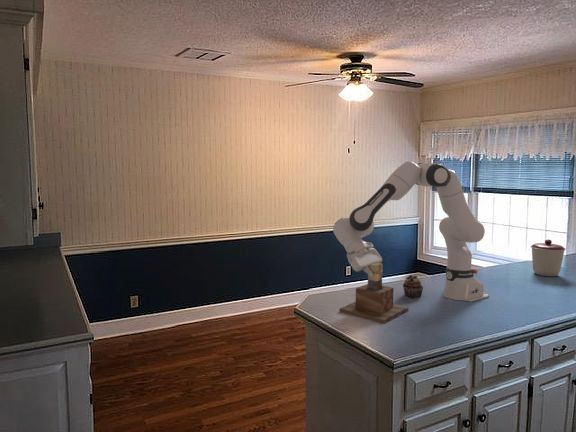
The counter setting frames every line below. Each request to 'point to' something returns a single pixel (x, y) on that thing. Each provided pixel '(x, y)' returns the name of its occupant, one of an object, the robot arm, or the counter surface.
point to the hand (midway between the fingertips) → (376, 274)
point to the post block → (374, 304)
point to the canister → (547, 258)
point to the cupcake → (412, 287)
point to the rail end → (375, 276)
